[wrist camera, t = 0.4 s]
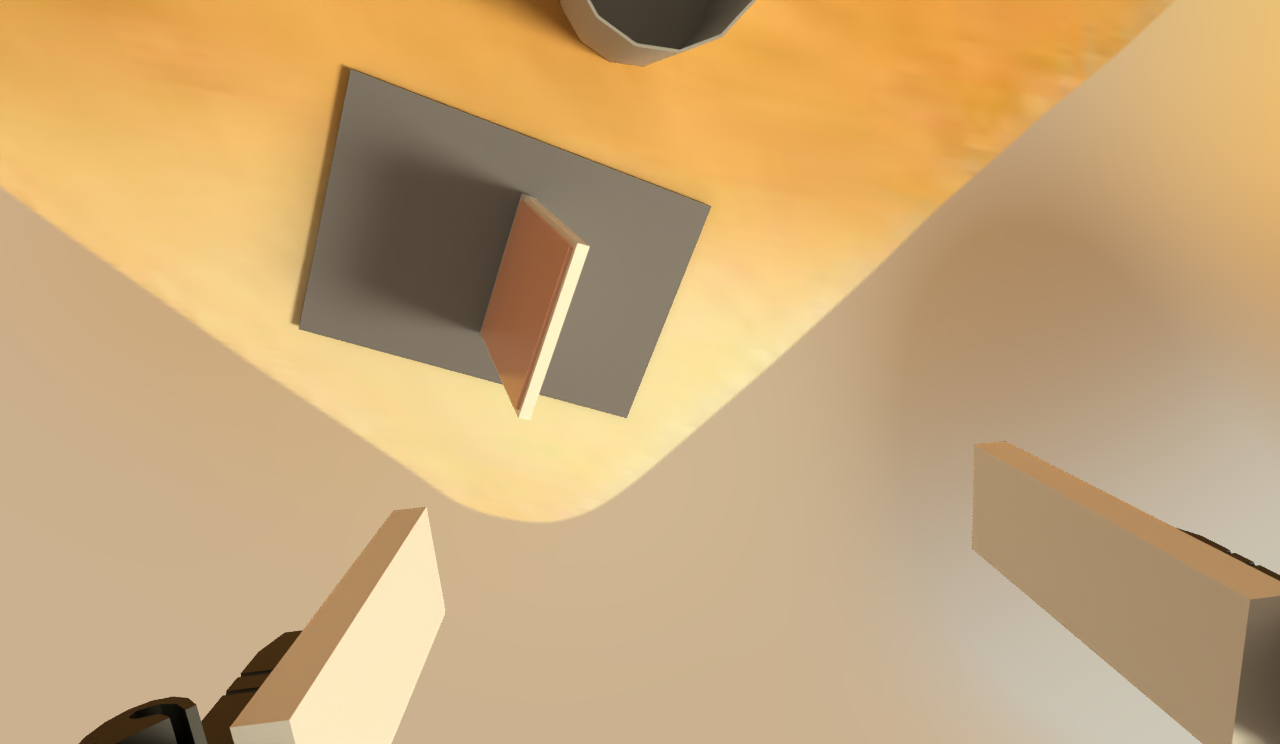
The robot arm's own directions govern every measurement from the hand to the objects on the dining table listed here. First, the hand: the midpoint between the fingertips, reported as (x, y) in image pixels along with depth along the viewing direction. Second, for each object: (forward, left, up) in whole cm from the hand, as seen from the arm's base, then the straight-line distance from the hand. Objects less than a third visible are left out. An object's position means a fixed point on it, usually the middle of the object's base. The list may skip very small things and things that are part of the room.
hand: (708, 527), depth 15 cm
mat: (+2, -5, -27) cm, 27 cm away
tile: (+2, -4, -21) cm, 22 cm away
